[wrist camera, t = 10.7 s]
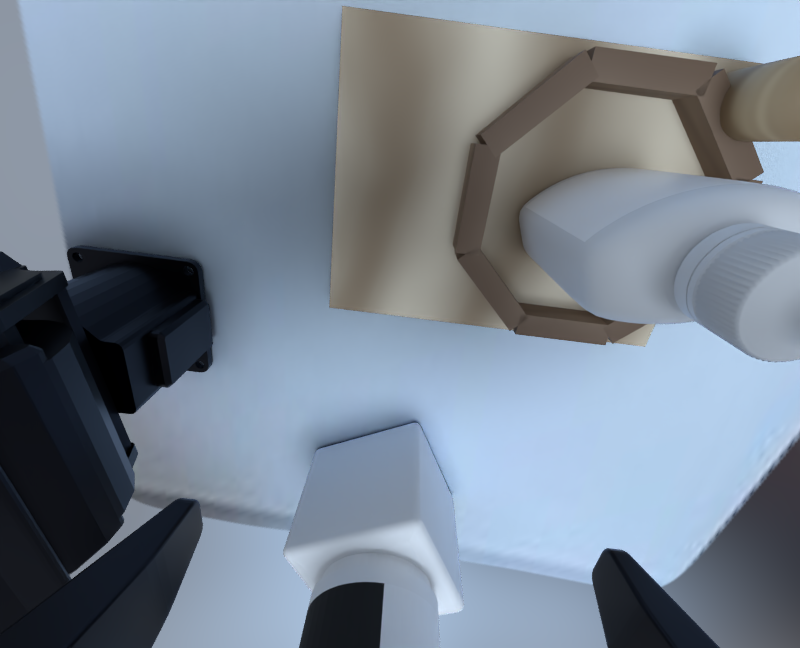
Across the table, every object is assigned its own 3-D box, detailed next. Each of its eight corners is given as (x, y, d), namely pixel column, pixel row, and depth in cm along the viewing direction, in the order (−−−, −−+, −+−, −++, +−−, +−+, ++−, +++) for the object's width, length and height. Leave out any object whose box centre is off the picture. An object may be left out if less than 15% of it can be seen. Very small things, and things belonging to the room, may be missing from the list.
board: (333, 298, 20) (309, 345, 16) (347, 15, 15) (317, -42, 10) (642, 336, 20) (709, 395, 16) (758, 71, 15) (909, 41, 11)
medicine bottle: (358, 520, 28) (320, 766, 17) (314, 447, 25) (234, 685, 14) (454, 497, 26) (481, 749, 15) (418, 418, 23) (421, 656, 13)
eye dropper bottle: (539, 143, 16) (818, 147, 5) (668, 176, 16) (1198, 247, 5) (504, 247, 18) (646, 417, 7) (620, 274, 18) (935, 477, 7)
